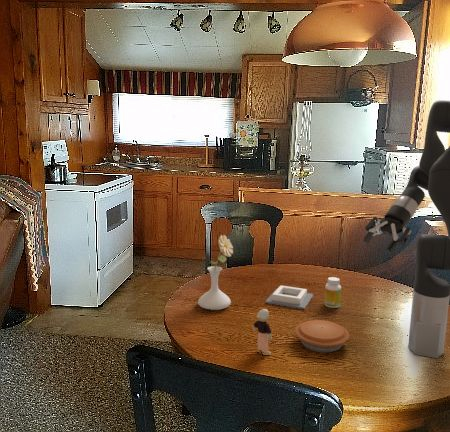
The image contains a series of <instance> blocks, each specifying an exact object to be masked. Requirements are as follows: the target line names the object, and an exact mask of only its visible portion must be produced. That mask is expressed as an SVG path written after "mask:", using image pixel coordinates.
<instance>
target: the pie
mask: <svg viewBox="0 0 450 432" xmlns="http://www.w3.org/2000/svg"><path fill="white" fill-rule="evenodd" d="M294 332H295V335H296V336H297V338H298V339H299V340H300V342H301V343H302V345H303V346H304V348H306V349H308V350H310V351H313V352H316V351H317V352H318V353H333V351H334V352H336V351H339V349H341V348H342V347H343V345H344V344H345V343H346V342H347V341H349V338H350V332H349V331H348V330H347V329H346V327H343V326H342V325H339V324H337V323H335V322H332V321H329V320H323V319H313V320H308V321H304V322H300V323H299V324H297V326H296V327H295V329H294ZM317 352H316V353H317Z"/></svg>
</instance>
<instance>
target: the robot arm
mask: <svg viewBox="0 0 450 432" xmlns="http://www.w3.org/2000/svg"><path fill="white" fill-rule="evenodd" d="M428 112H429V113H428V117H427V121H426V129H425V134H424V135H425V137H424V145H423V151H422V152H421V153H422V154H421V156H420V160H419V164H418V165H417V166H415V167H413V169H411V172H410V174H409V179H408V182H407V184H406V187H405V188H404V190H403V191H402V193H401V194H400V195H399V196H398V198H396V200H395V201H394V202H393V204H392V205H391V206H390V208H388V211H387V212H386V214H385V215H384V217H383V218H381V219H379V218H378V217H377V216H373V217H372V219H370V221H369V222H368V224H367V225H365V231H366V233H367V234H366V235H365V236H364V238H363V242H364V244H365V245H368V244H370V242H371V240H372V238H373V237H374V236H376V235H378V236H379V235H381V234H382V235H387V236H388V237H393V240H391V241H390V243H389V244H388V246H387V247H386V251H387V253H389V254H390V253H391V252H393V251H394V250H395V249H396V247H397V246H398V245H401V246H405V245H406V243H407V242H408V240H409V239H410V236H411V235H412V230H411V227H410V226H408V227H407V225H408V223H409V222H410V221H411V219H412V218H413V216H414V215H415V213H416V212H417V209H418V208H419V206H420V205H421V203H422V202H423V201H424V199H425V196H426V193H425V192H424V190H425V191H427V193H428V195H429V198H430V200H431V202H432V203H433V205H434V207H435V209H437V211H438V212H439V214H440V215H441V218H442V220H443V222H444V225H445V227H446V231H447V235H439V234H431V233H430V234H427V233H425V234H424V233H422V234H421V235H419V237H418V238H417V242H416V252H415V272H414V273H415V274H414V283H413V291H412V293H413V294H412V299H411V300H412V302H411V311H410V312H411V313H410V323H409V331H408V333H409V334H408V344H407V345H408V349H409V350H410V351H411V352H413V354H414V355H419V356H423V357H429V358H433V359H438V358H439V357H440V356H442V355H444V349H445V342H446V341H445V340H446V332H447V323H448V313H449V306H450V305H449V304H450V282H448V281H446V280H445V279H443V278H441V277H438V276H436V275H435V274H433V273H432V272H431V271H429V269H430V270H431V269H432V270H440V271H441V270H442V271H448V272H449V271H450V145H449V146H448V148H447V149H446V148H445V146H444V144H443V142H442V140H441V139H440V137H439V135H438V133H448V134H450V100H443V99H442V100H441V99H438V100H436V101H434V102H433V103H432V104H431V107H430V109H429V111H428ZM401 233H402V235H401V237H400V238H399V234H401Z"/></svg>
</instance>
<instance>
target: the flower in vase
mask: <svg viewBox="0 0 450 432" xmlns="http://www.w3.org/2000/svg"><path fill="white" fill-rule="evenodd" d="M217 243H218V247H219V250H220V251H219V253H218V256H217V260H216V261H214V260H212V259H211V260H210V262H209V263H210V264H212V265H213V266H208V267H207V271H208V272H209V275H210V279H211V280H210V283H211V284H210V289H209V290H208V291H206V292H205V293H204V294H202V295H201V296H200V297H199V298H198V301H197V303H198V305H199V306H200V307H201V308H203V309H204V310H205V309H206V310H209V309H210V310H209V311H217V310H218V311H219V310H223V309H226V308H228V307H229V306H230V305H231V304H232V301H231V298H230V297H229V296H228V295H227V294H225V293H224V292H223V291H222V290H220V288H219V275H220V273H221V271H222V270H223V268H222V267H221V266H217V265H218V263H219V262H220V263H225V262H226V261H227V257H229V258H230V257H232V255H233V254H234V250H233V249H234V246H233V245H232V242H231V239H229V238H227V236H226V234H223V235H222V234H220V236H219V238H218V241H217ZM222 254H223V255H222ZM218 261H219V262H218Z"/></svg>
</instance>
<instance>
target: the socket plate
mask: <svg viewBox="0 0 450 432" xmlns="http://www.w3.org/2000/svg"><path fill="white" fill-rule="evenodd" d="M313 297H314V293H310V292H308V289H307V288H300V287H295V286H289V285H288V286H287V285H281V284H280V286H278V288H276V289H274V290H273V292H272V293H271V294H270V295H269V297H267V299H266V300H265V301H264V303H265V304H266V303H269V304H268V305H272V304H275V305H274V306H278V305H280V306H279V307H284V306H286V307H285V308H290V307H291V308H292V309H296V308H298V310H303V309H304V311H305V310H306V308H307V307H308V305H309V303H310V302H311V300H312V299H313ZM311 298H312V299H311ZM306 306H307V307H306ZM291 308H290V309H291Z"/></svg>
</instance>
